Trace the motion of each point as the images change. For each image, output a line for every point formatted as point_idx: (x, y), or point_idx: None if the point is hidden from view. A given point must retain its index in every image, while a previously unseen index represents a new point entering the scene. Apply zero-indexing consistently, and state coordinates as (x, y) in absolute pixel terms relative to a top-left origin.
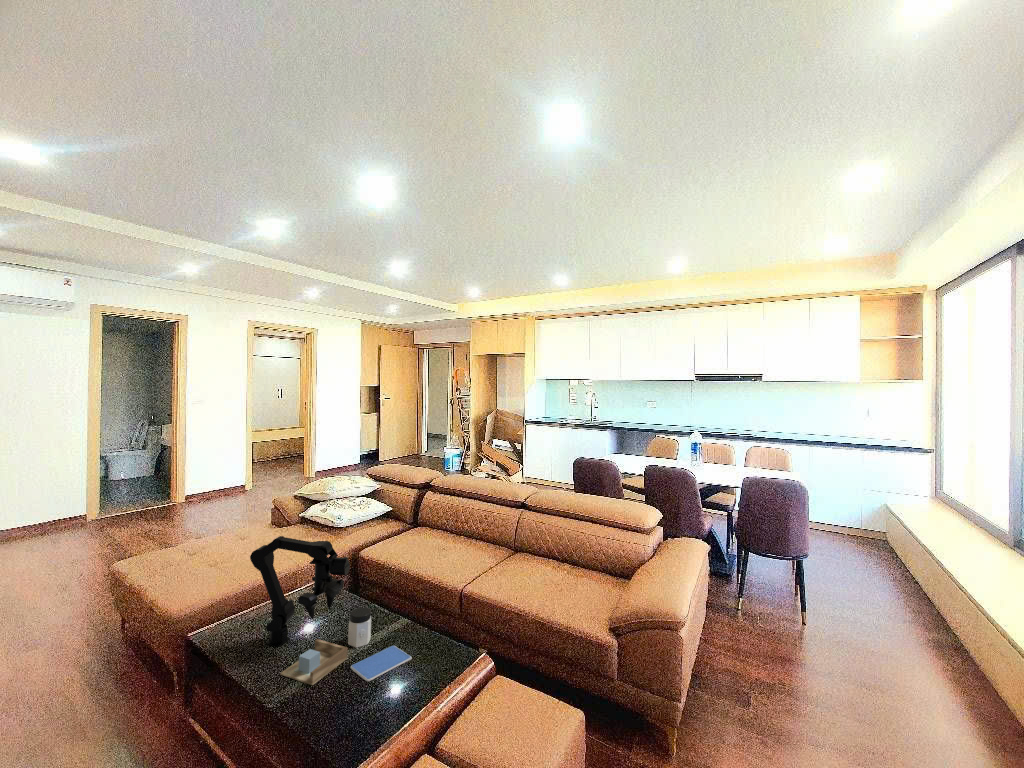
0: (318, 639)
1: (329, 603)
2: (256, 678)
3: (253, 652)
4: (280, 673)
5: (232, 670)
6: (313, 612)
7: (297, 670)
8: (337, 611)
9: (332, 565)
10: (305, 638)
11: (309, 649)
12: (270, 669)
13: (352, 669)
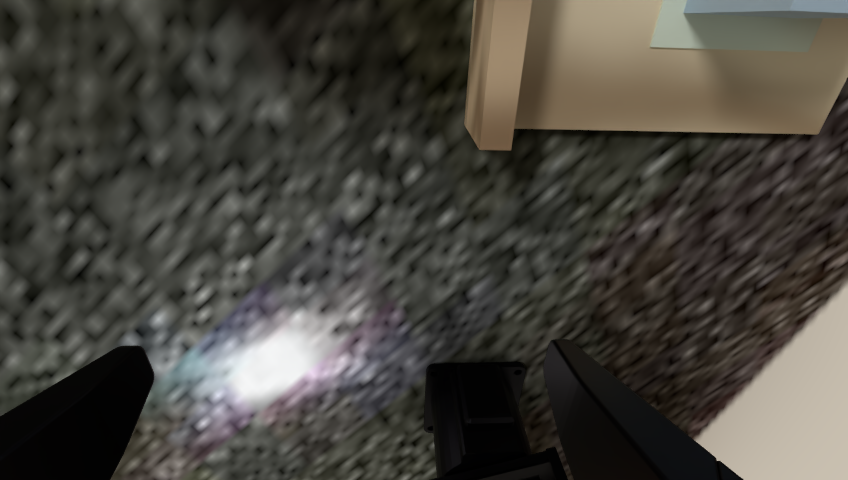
0: (484, 131)
1: (84, 438)
2: (832, 236)
3: None
4: (813, 133)
5: (745, 381)
6: (647, 425)
7: (803, 23)
8: (2, 362)
9: None
10: (378, 301)
11: (804, 4)
12: (740, 234)
13: None
